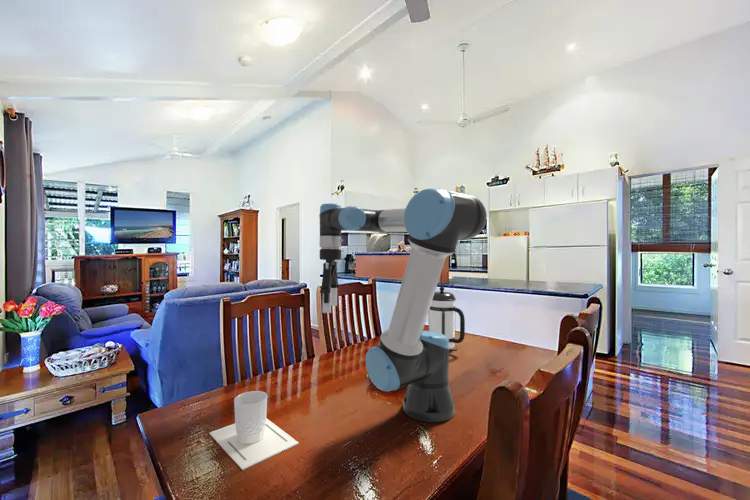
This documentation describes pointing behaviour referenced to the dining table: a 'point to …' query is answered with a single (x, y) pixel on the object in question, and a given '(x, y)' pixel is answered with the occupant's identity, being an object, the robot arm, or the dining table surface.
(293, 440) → the paper sheet
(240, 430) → the white cup
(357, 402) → the dining table surface
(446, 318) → the coffee press
